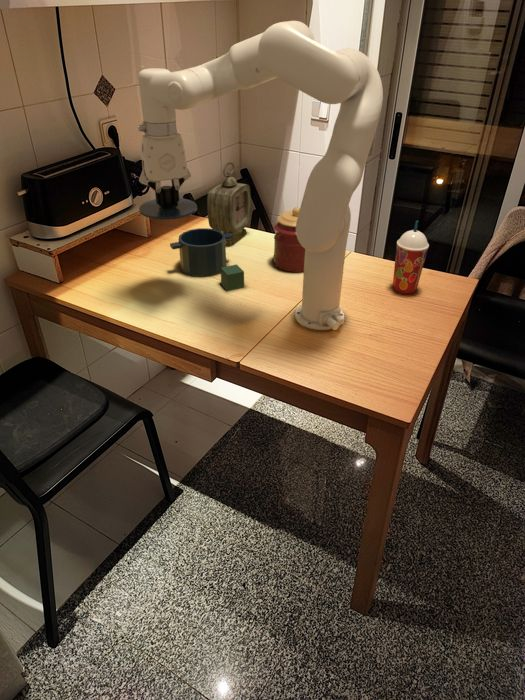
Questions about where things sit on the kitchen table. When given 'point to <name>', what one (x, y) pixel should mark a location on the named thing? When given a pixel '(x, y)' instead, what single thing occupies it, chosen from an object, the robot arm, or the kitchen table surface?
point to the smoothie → (409, 260)
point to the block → (232, 277)
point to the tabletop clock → (229, 205)
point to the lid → (168, 207)
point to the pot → (202, 251)
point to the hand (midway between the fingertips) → (168, 205)
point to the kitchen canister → (288, 243)
